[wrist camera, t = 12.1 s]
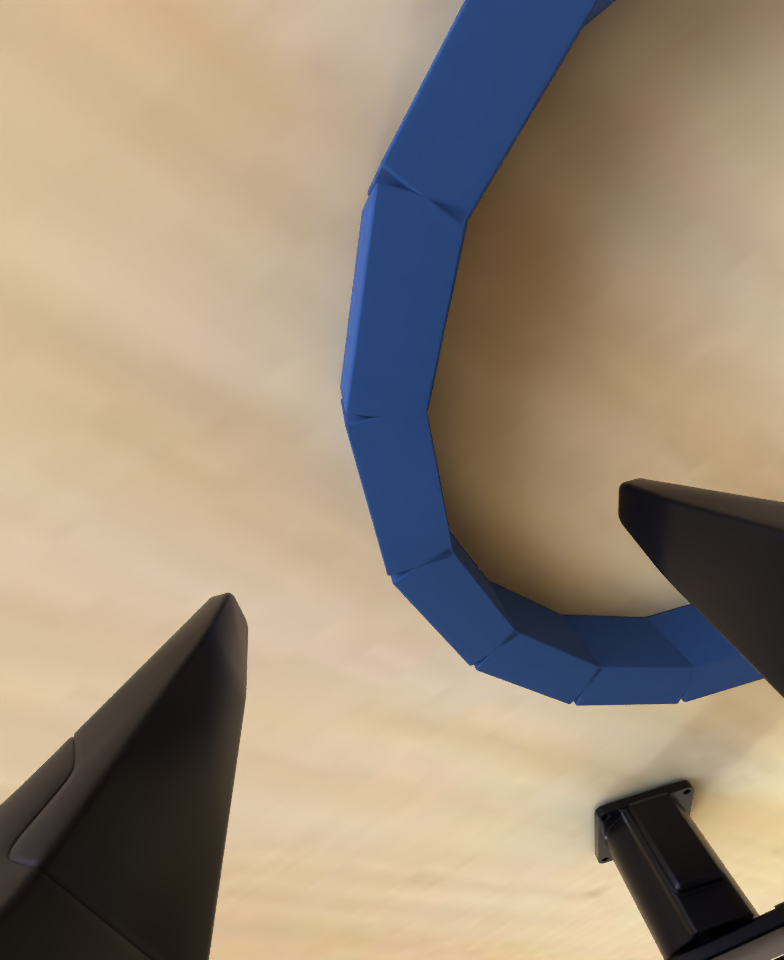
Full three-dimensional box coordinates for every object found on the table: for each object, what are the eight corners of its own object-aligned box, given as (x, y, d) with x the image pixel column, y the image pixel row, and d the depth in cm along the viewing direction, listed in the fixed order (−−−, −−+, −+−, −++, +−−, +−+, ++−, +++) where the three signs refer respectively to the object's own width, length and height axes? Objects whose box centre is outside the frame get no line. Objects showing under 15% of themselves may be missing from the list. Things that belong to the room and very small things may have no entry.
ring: (927, 564, 22) (1012, 603, 19) (428, 712, 21) (444, 776, 18) (1310, -322, 10) (1675, -550, 7) (200, -103, 9) (146, -278, 6)
